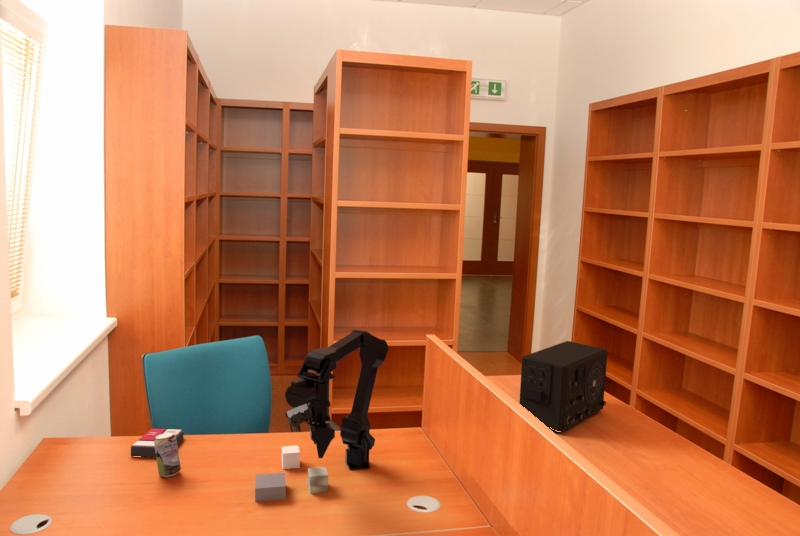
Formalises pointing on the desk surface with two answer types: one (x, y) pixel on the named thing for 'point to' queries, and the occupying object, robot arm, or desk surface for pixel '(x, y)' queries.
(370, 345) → the robot arm
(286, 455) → the off-white block
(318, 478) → the cube block
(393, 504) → the desk surface
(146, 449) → the red and white box
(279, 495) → the grey base block
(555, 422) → the vintage radio
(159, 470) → the beverage can
